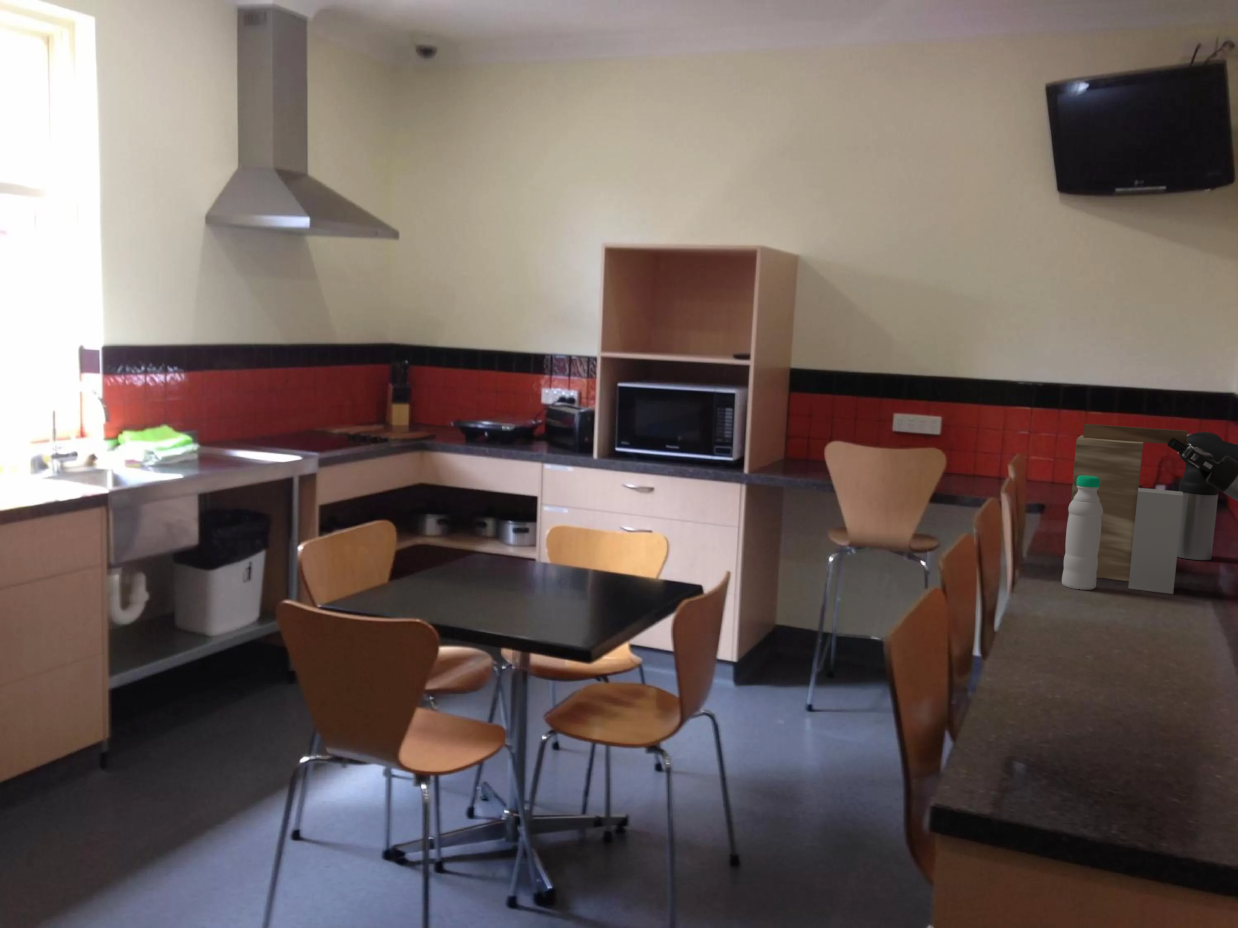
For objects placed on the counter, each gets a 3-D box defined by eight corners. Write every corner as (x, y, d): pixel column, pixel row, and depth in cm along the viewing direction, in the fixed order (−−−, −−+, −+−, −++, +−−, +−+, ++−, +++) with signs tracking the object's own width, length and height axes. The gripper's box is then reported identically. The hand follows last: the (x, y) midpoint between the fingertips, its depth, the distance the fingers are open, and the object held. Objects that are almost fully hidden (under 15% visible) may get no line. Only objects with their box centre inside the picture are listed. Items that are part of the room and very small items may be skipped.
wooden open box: (1069, 561, 273) (1081, 435, 269) (1130, 568, 267) (1143, 439, 263) (1064, 573, 257) (1076, 439, 253) (1129, 581, 251) (1142, 444, 247)
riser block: (1129, 581, 250) (1138, 487, 247) (1172, 587, 246) (1182, 491, 243) (1128, 588, 242) (1137, 491, 240) (1173, 593, 239) (1183, 495, 236)
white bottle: (1094, 585, 244) (1104, 475, 241) (1096, 591, 237) (1107, 479, 234) (1060, 582, 246) (1070, 473, 243) (1062, 588, 239) (1072, 476, 237)
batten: (1084, 437, 262) (1085, 423, 262) (1185, 444, 253) (1187, 430, 252) (1083, 437, 259) (1084, 424, 259) (1186, 445, 250) (1187, 431, 249)
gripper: (1225, 496, 242) (1158, 455, 247) (1222, 489, 254) (1159, 450, 260) (1247, 469, 239) (1180, 428, 245) (1244, 463, 252) (1179, 424, 257)
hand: (1169, 439), depth 252 cm, fingers open, 8 cm apart
